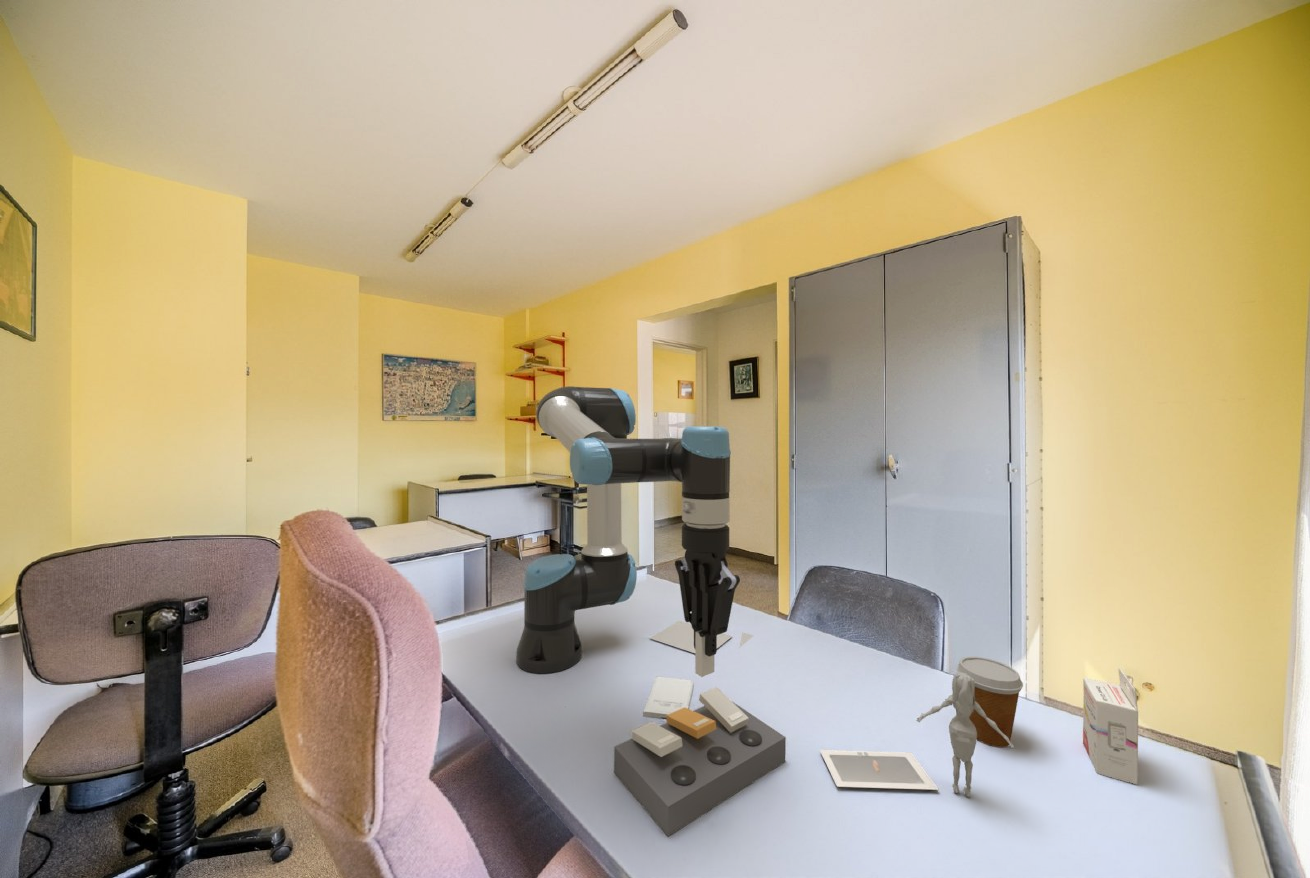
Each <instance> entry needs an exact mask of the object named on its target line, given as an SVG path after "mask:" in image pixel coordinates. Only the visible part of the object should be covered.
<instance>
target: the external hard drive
mask: <svg viewBox="0 0 1310 878" xmlns="http://www.w3.org/2000/svg"><path fill="white" fill-rule="evenodd" d="M694 683H695V682H694V681H693V680H690V679H682V678H673V677H663V676H656V677H655V679H654V682H653V684H652V687H651V690H650V693H649V695H648V698H647V701H646V704H645V706H644V709H643V711H642V716H643V717H649V718H656V719H667V718H666V715H668V714H670V713H673V712H675V711H677V710H680V709H682V708H684V707H685V708H687V709H690V705H691V700H692V695H693V690H694V685H695V684H694Z"/></svg>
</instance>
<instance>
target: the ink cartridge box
mask: <svg viewBox="0 0 1310 878" xmlns="http://www.w3.org/2000/svg"><path fill="white" fill-rule="evenodd" d="M1117 670H1118V677H1119V678H1118V679H1119V684H1116V683H1111V682H1106V681H1102V680H1097V679H1092V678H1089V677H1083V679H1082V680H1083V683H1082V684H1083V688H1082V689H1083V690H1082V691H1083V707H1082V710H1083V712H1082V717H1083V719H1082V720H1083V722H1082V723H1083V724H1082V744H1083V746H1084V748H1085V751H1086V753H1087V755H1088V757H1089V760H1090V762H1091V764H1092V766H1093V768H1094V772H1095V774H1097V775H1101V776H1105V777H1108V778H1111V777H1112V778H1111V779H1115V780H1118V779H1119V780H1118V781H1122V782H1126V783H1129V782H1130V783H1129V784H1132V783H1133V785H1137V786H1138V784H1139V783H1138V782H1139V779H1138V778H1139V774H1138V773H1139V760H1138V759H1139V708H1138V699H1137V691H1136V688H1135V687H1134V685H1133V684H1132V683H1131V682H1130V679H1128V676H1126V674H1125V673H1124V672H1123V670H1122V669H1121V668H1120V667H1118V669H1117ZM1126 685H1127V686H1126Z"/></svg>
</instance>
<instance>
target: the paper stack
mask: <svg viewBox="0 0 1310 878" xmlns="http://www.w3.org/2000/svg"><path fill="white" fill-rule="evenodd" d="M740 637H741V638H740V643H739V649H740V648H742V646H744V645H745V644H746V643H747V642H748V641H750V640H751V639H752V638H753V637H754V635H753V634H749V633H746V632H744V631H743V632H742V633H741V636H740ZM731 638H733V635H729V634H727V633H726V634H725V633H722V634H719V635H717V649H719V648H720V647H721V646H722V645H724V644H725V643H727V641H728V640H730V639H731ZM649 639H650V640H653V641H656V642H660V643H663V644H666V645H669V646H672V647H675V648H677V649H679V650H683V651H687V652H690V653H692V654H695V648H694V630H693V629H692V624H691V623H690V622H686V621H682V620H678V621H676V622H675V623H673V624H671V625H669V626H668V627H666V628H665V629H663V630H661V631H660V632H658V633H656V634H654V635H653V636H651V637H650V638H649Z"/></svg>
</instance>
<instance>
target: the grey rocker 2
mask: <svg viewBox="0 0 1310 878" xmlns="http://www.w3.org/2000/svg"><path fill="white" fill-rule="evenodd" d="M698 699H699V701H700V703H702V705H703V706H705V707H706V708H707V709H708V710H709V711H710V712H711V713H712V714H713V715H714V716H715V717H716V718H717V719H718V720H719V721H720V722H721V723H722V724H723V725H724V727H725V728H726V729H727V730H728V731H729V732H730V733H731V732H733V731H735V730H737V729H739V728H741V727H743V726H745V725H747V724H748V719H749V718H748V717H747V716H746V715H745V714H744V713H743V712H742V711H741V710H740V709H739V708H738V707H737V706H736V705H735V704H736V703H735V702H734V701H732V700H731V699H730V698H729V697H728V696H727V695H726V694H725V693H724V692H723V691H722V690H721V689H719V687H718V686H715V687H713V688H711V689H709V690H705V691H703V692H701V693H700V694H699V698H698ZM733 702H734V703H735V704H734V703H733Z"/></svg>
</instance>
